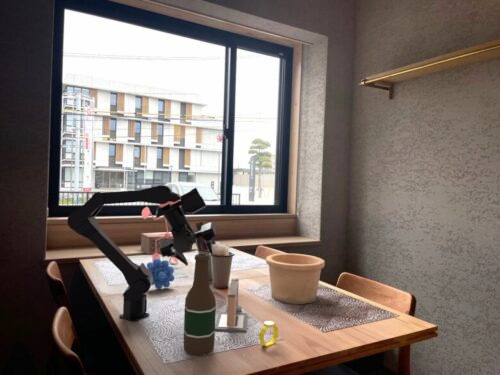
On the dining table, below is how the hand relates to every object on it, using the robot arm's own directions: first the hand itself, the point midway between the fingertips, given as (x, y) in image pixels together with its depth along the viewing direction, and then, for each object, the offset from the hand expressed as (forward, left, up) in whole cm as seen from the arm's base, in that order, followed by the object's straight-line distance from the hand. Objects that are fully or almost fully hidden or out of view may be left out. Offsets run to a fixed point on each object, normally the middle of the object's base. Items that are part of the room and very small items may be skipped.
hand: (200, 259), depth 124 cm
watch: (-9, -31, -17) cm, 37 cm away
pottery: (+33, -19, -17) cm, 42 cm away
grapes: (+9, +26, -17) cm, 32 cm away
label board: (0, -13, -17) cm, 21 cm away
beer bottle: (-22, -18, -17) cm, 33 cm away
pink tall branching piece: (+40, +51, -17) cm, 67 cm away
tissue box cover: (+68, +79, -17) cm, 105 cm away
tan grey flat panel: (0, -14, -15) cm, 20 cm away
